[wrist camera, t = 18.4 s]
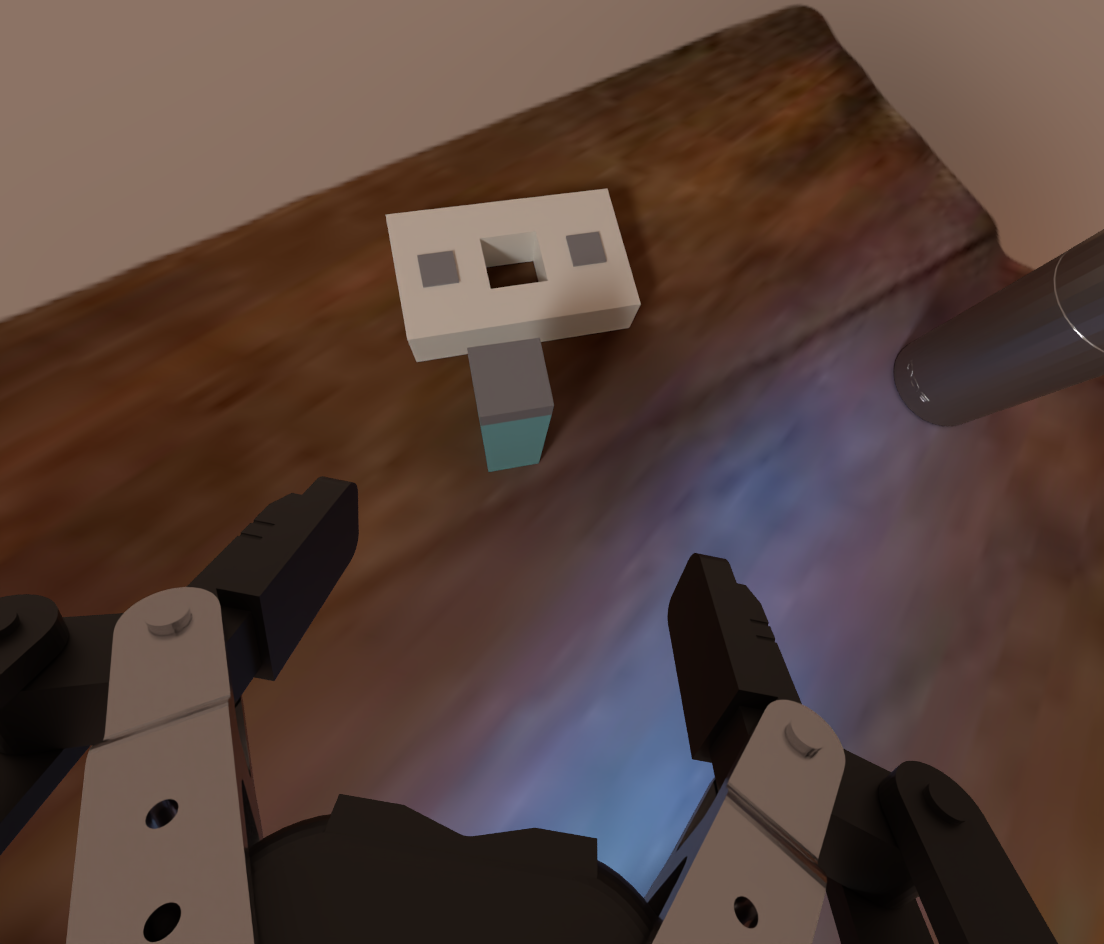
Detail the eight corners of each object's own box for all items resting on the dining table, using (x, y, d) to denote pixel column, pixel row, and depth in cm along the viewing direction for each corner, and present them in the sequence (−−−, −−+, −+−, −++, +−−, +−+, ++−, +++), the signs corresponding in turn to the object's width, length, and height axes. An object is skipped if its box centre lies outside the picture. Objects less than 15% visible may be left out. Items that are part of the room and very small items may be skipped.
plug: (529, 415, 42) (539, 337, 29) (538, 463, 41) (554, 405, 28) (480, 423, 42) (466, 347, 28) (488, 471, 41) (479, 417, 27)
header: (599, 220, 48) (607, 186, 44) (629, 327, 45) (641, 302, 41) (396, 246, 45) (385, 212, 41) (416, 362, 43) (407, 338, 38)
